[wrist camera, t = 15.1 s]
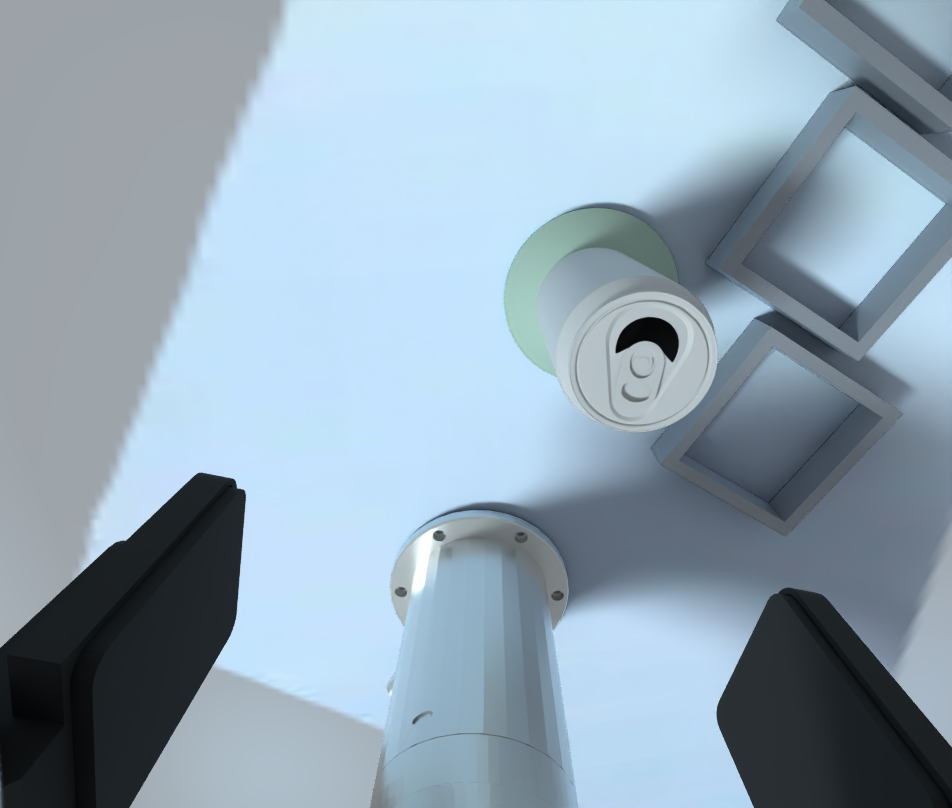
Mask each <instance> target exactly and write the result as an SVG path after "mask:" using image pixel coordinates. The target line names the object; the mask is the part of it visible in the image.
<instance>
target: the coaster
mask: <svg viewBox="0 0 952 808" xmlns="http://www.w3.org/2000/svg"><path fill="white" fill-rule="evenodd" d="M597 247H598V248H608V249H612V250H616V251H618V252H621V253H623V254H625V255H626V256H628V257H630V258H632V259H634V260H636V261H638V262H639V263H641V264H643V265H645V266H647V267H649V268H650V269H652V270H654V271H656V272H658V273H660V274H661V275H663V276H665V277H667V278H669V279H671V280H672V281H674V282H676V283H678V284H679V278H678V273H677V268H676V265H675V262H674V259H673V256H672V254H671V252H670V250H669V248H668V246H667V245H666V244H665V242H664V241H663V239H662V238H661V237H660V236H659V235H658V234H657V233H656V232H655V230H654V229H652V228H651V227H650V226H649V225H647V224H646V223H645V222H643V221H641V220H640V219H638V218H636V217H634V216H632V215H629V214H627V213H624V212H621V211H617V210H612V209H605V208H585V209H580V210H575V211H571V212H568V213H565V214H562V215H560V216H558V217H556V218H554V219H552V220H550V221H549V222H547V223H546V224H544V225H543V226H541V227H540V228H539V229H538V230H537V231H536V232H534V233H533V234H532V235H531V236H530V237H529V238H528V240H527V241H526V242H525V243H524V244H523V246H522V247H521V248H520V250H519V251H518V253H517V255H516V257H515V258H514V260H513V262H512V265H511V267H510V270H509V273H508V276H507V280H506V285H505V294H504V304H505V313H506V319H507V323H508V326H509V330H510V332H511V334H512V337H513V339H514V341H515V342H516V344H517V345H518V347H519V349H520V350H521V351H522V352H523V354H524V355H525V356H526V357H527V358H528V359H529V360H530V361H531V362H532V363H533V364H535V365H536V366H537V367H539V368H540V369H542V370H543V371H545V372H547V373H549V374H551V375H553V376H556V377H557V374H556V371H555V369H554V366H553V363H552V360H551V357H550V354H549V351H548V348H547V346H546V343H545V340H544V337H543V334H542V331H541V328H540V325H539V322H538V318H537V297H538V293H539V290H540V287H541V284H542V282H543V280H544V278H545V277H546V275H547V274H548V273H549V271H550V270H551V269H552V268H553V267H554V266H555V265H556V264H557V263H558V262H559V261H560V260H562V259H563V258H564V257H566V256H568V255H570V254H572V253H574V252H576V251H579V250H582V249H586V248H597Z"/></svg>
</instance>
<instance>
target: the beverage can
mask: <svg viewBox="0 0 952 808" xmlns="http://www.w3.org/2000/svg"><path fill="white" fill-rule="evenodd" d="M537 318H538V322H539V325H540V328H541V331H542V334H543V337H544V340H545V343H546V346H547V348H548V351H549V354H550V357H551V360H552V363H553V366H554V369H555V371H556V374H557V377H558V380H559V383H560V385H561V388H562V390H563V392H564V394H565V395H566V397H567V398H568V400H569V401H570V402H571V403H572V404H573V406H574V407H575V408H576V409H578V410H579V411H580V412H581V413H582V414H584V415H585V416H587V417H588V418H590V419H592V420H594V421H596V422H598V423H601V424H602V425H604V426H607V427H609V428H612V429H615V430H619V431H623V432H636V433H637V432H648V431H653V430H657V429H661V428H663V427H666V426H668V425H671V424H673V423H675V422H677V421H678V420H680V419H681V418H683V417H684V416H686V415H687V414H688V413H690V412H691V411H692V410H693V409H694V408H695V407H696V406H697V405H698V404H699V403H700V401H701V400H702V399H703V398H704V396H705V395H706V393H707V391H708V390H709V388H710V386H711V384H712V382H713V379H714V376H715V373H716V369H717V362H718V347H717V341H716V337H715V332H714V327H713V324H712V321H711V318H710V316H709V314H708V312H707V310H706V309H705V307H704V305H703V304H702V303H701V302H700V300H699V299H698V298H696V297H695V296H694V295H693V294H692V293H691V292H690V291H689V290H687V289H686V288H685V287H683V286H682V285H680V284H678V283H676V282H674V281H672V280H671V279H669V278H667V277H665V276H663V275H661V274H660V273H658V272H656V271H654V270H652V269H650V268H649V267H647V266H645V265H643V264H641V263H639V262H638V261H636V260H634V259H632V258H630V257H628V256H626V255H625V254H623V253H621V252H618V251H616V250H612V249H608V248H598V247H597V248H586V249H582V250H579V251H576V252H574V253H572V254H570V255H568V256H566V257H564V258H563V259H562V260H560V261H559V262H558V263H557V264H556V265H555V266H554V267H553V268H552V269H551V270H550V271H549V273H548V274H547V275H546V277H545V278H544V280H543V282H542V284H541V287H540V290H539V293H538V297H537Z"/></svg>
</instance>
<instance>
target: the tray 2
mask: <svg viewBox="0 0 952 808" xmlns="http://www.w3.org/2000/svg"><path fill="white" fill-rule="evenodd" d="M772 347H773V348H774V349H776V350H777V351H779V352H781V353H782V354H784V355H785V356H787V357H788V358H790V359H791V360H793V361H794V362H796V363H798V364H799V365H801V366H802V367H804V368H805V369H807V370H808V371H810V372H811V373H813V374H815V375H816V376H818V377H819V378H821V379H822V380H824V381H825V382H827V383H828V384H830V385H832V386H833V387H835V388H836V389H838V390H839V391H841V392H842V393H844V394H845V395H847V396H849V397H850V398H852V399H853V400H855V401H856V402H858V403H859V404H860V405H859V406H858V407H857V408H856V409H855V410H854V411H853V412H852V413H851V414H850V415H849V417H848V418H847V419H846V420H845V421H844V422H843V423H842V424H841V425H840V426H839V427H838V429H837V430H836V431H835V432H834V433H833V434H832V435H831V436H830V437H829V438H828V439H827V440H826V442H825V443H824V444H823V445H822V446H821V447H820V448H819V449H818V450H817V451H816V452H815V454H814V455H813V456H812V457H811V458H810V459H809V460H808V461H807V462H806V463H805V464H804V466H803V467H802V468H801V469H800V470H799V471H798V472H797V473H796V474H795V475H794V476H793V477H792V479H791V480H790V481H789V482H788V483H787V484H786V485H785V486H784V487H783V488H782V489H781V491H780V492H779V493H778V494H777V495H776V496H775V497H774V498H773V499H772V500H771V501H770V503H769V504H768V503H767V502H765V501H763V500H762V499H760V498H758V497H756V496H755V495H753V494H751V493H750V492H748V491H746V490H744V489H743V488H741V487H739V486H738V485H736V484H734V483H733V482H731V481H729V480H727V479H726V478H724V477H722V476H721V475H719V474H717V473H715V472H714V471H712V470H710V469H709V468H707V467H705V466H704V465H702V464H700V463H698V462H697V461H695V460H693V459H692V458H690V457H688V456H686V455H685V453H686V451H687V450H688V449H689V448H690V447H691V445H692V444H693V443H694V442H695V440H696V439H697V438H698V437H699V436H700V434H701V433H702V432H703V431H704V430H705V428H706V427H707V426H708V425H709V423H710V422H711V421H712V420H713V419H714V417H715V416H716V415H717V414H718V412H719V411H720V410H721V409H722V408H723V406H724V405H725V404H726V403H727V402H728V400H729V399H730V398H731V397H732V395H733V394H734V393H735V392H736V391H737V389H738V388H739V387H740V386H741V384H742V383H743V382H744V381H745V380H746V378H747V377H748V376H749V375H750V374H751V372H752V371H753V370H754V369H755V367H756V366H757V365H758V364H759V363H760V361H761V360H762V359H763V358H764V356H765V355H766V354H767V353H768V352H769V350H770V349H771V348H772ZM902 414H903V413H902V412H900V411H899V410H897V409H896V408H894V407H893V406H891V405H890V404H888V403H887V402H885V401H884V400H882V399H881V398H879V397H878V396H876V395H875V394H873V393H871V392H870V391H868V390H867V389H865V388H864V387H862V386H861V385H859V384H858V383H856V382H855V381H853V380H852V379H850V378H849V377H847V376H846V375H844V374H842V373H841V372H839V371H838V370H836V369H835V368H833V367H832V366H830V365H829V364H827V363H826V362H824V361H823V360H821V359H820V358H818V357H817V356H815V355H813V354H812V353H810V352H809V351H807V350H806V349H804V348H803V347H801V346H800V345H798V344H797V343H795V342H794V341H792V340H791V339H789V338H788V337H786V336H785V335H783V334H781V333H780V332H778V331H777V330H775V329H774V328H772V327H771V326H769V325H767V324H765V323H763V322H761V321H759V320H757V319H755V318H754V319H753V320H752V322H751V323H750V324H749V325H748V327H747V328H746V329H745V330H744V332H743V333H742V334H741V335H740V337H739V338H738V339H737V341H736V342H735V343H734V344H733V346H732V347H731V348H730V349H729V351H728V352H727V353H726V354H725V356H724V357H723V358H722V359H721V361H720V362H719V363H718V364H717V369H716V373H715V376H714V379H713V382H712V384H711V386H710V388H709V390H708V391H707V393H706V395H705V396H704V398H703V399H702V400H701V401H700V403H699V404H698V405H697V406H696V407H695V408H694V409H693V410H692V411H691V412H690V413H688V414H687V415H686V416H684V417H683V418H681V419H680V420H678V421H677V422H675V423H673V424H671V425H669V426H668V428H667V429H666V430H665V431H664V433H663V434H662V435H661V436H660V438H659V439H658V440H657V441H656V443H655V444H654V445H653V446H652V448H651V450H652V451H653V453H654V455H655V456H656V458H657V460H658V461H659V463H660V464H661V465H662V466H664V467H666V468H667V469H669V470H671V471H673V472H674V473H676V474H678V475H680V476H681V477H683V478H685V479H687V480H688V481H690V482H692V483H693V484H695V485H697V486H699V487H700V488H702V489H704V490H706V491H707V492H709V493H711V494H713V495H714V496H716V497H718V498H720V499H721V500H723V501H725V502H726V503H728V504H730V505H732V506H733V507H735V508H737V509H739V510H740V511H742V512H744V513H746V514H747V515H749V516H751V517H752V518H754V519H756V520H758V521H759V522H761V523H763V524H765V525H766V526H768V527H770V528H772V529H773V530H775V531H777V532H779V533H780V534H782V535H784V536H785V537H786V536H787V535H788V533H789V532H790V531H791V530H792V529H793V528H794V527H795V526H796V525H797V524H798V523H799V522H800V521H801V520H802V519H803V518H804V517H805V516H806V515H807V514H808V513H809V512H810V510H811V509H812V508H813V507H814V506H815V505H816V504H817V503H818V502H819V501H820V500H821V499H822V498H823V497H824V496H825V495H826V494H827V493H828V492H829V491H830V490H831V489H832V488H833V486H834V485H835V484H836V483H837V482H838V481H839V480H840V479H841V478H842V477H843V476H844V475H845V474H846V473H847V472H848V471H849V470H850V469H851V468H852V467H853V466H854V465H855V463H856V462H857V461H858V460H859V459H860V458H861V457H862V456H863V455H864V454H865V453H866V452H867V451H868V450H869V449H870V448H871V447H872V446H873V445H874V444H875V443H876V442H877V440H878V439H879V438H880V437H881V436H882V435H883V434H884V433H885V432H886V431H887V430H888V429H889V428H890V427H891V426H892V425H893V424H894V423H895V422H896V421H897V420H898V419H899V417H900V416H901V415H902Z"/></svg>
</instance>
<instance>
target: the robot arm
mask: <svg viewBox="0 0 952 808" xmlns="http://www.w3.org/2000/svg"><path fill="white" fill-rule="evenodd" d="M245 501H246V494H245V491H244V490H242V489H237V485H236V481H235V480H234V479H231V478H226V477H221V476H216V475H211V474H206V473H198V474H196V475H195V476H194V477H193V478H192V479H191V480H190V481H188V482H187V483H186V484H185V485H184V486H183V487H182V488H181V489H180V490H179V491H178V492H177V493H176V494H175V495H174V496H173V497H172V498H171V499H170V500H168V501H167V502H166V503H165V504H164V505H163V506H162V507H161V508H160V509H159V510H158V511H157V512H156V513H155V514H154V515H153V516H152V517H151V518H150V519H148V520H147V521H146V522H145V523H144V524H143V525H142V526H141V527H140V528H139V529H138V530H137V531H136V532H135V533H134V534H133V535H132V536H131V537H130V538H129V539H127V540H126V541H119V542H116V543H115V544H113V545H112V546H110V547H109V548H108V549H107V550H106V551H105V552H103V553H102V554H101V555H100V556H99V557H98V558H97V559H96V560H95V561H94V562H93V563H92V564H90V565H89V566H88V567H87V568H86V569H85V570H84V571H83V572H82V573H81V574H80V575H79V576H78V577H76V578H75V579H74V580H73V581H72V582H71V583H70V584H69V585H68V586H67V587H66V588H65V589H63V590H62V591H61V592H60V593H59V594H58V595H57V596H56V597H55V598H54V599H53V600H52V601H51V602H49V604H47V605H46V606H45V607H44V608H43V609H42V610H41V611H40V612H39V613H38V614H36V615H35V616H34V617H33V618H32V619H31V620H30V621H29V622H28V623H27V624H26V625H25V626H24V627H22V628H21V629H20V630H19V631H18V632H17V633H16V634H15V635H14V636H13V637H12V638H11V639H9V640H8V641H7V642H6V643H5V644H4V645H3V646H2V647H1V648H0V808H129V807H130V805H131V804H132V802H133V800H134V799H135V797H136V795H137V794H138V792H139V790H140V789H141V787H142V785H143V783H144V782H145V780H146V778H147V777H148V775H149V773H150V772H151V770H152V768H153V766H154V765H155V763H156V761H157V760H158V758H159V756H160V754H161V753H162V751H163V749H164V748H165V746H166V744H167V743H168V741H169V739H170V737H171V736H172V734H173V732H174V731H175V729H176V727H177V726H178V724H179V722H180V720H181V719H182V717H183V715H184V714H185V712H186V710H187V708H188V707H189V705H190V703H191V702H192V700H193V698H194V697H195V695H196V693H197V691H198V690H199V688H200V686H201V685H202V683H203V681H204V680H205V678H206V676H207V674H208V673H209V671H210V669H211V668H212V666H213V664H214V663H215V661H216V659H217V657H218V656H219V654H220V652H221V651H222V649H223V647H224V645H225V644H226V642H227V640H228V639H229V637H230V635H231V632H232V630H233V627H234V624H235V620H236V614H237V601H238V589H239V576H240V564H241V551H242V539H243V526H244V514H245ZM439 530H441V531H439ZM390 593H391V601H392V604H393V607H394V610H395V613H396V615H397V617H398V618H399V620H400V621H401V623H402V625H403V626H404V632H403V637H402V642H401V647H400V653H399V658H398V663H397V668H396V672H395V673H394V675H393V676H392V677H391V679H390V680H389V681H388V684H387V691H388V694H389V695H390V696H391V700H390V705H389V711H388V716H387V721H386V726H385V732H384V737H383V742H382V748H381V753H380V758H379V763H378V769H377V774H376V779H375V785H374V788H373V792H372V798H371V803H370V808H578V804H577V796H576V789H575V782H574V775H573V768H572V761H571V754H570V747H569V740H568V733H567V726H566V719H565V712H564V705H563V698H562V691H561V684H560V677H559V670H558V664H557V657H556V650H555V643H554V636H553V630H554V629H555V627H556V626H557V624H558V623H559V622H560V620H561V619H562V616H563V614H564V611H565V609H566V606H567V601H568V594H569V587H568V577H567V573H566V569H565V564H564V562H563V560H562V557H561V555H560V553H559V551H558V549H557V548H556V547H555V546H554V544H553V543H552V542H551V540H550V539H549V538H548V537H547V536H546V535H545V534H543V533H542V532H541V531H540V530H539V529H538V528H536V527H535V526H533V525H531V524H530V523H528V522H526V521H524V520H523V519H520V518H517V517H515V516H512V515H509V514H506V513H501V512H496V511H490V510H468V511H461V512H454V513H451V514H448V515H445V516H442V517H439V518H437V519H435V520H433V521H431V522H429V523H427V524H425V525H424V526H422V527H421V528H420V529H419V530H417V531H416V532H415V533H414V534H412V535H411V536H410V538H409V539H408V540H407V541H406V543H405V544H404V545H403V546H402V548H401V550H400V552H399V554H398V556H397V558H396V560H395V563H394V567H393V570H392V574H391V582H390ZM717 722H718V725H719V728H720V731H721V733H722V735H723V737H724V740H725V742H726V744H727V747H728V749H729V751H730V754H731V756H732V758H733V760H734V763H735V765H736V767H737V770H738V772H739V774H740V777H741V779H742V781H743V783H744V786H745V788H746V790H747V793H748V795H749V797H750V799H751V802H752V804H753V806H754V808H952V747H951V746H950V745H949V744H948V742H947V741H946V740H945V739H944V738H943V736H942V735H941V734H940V733H939V732H938V731H937V729H936V728H935V727H934V726H933V724H932V723H931V722H930V721H929V720H928V719H927V717H926V716H925V715H924V714H923V713H922V711H921V710H920V709H919V708H918V707H917V705H916V704H915V703H914V702H913V701H912V700H911V698H910V697H909V696H908V695H907V694H906V692H905V691H904V690H903V689H902V688H901V686H900V685H899V684H898V683H897V682H896V681H895V679H894V678H893V677H892V676H891V675H890V673H889V672H888V671H887V670H886V669H885V667H884V666H883V665H882V664H881V663H880V662H879V660H878V659H877V658H876V657H875V656H874V654H873V653H872V652H871V651H870V650H869V648H868V647H867V646H866V645H865V644H864V643H863V641H862V640H861V639H860V638H859V637H858V635H857V634H856V633H855V632H854V631H853V629H852V628H851V627H850V626H849V625H848V624H847V622H846V621H845V620H844V619H843V618H842V616H841V615H840V614H839V613H838V612H837V610H836V609H835V608H834V607H833V606H832V605H831V603H830V602H829V601H828V600H827V599H826V598H825V597H824V596H823V595H821V594H818V593H814V592H809V591H803V590H798V589H793V588H784V589H783V590H781V591H780V592H779V593H778V594H774V595H772V596H771V597H770V599H769V600H768V602H767V604H766V606H765V608H764V610H763V612H762V614H761V616H760V618H759V620H758V622H757V625H756V627H755V629H754V631H753V633H752V635H751V637H750V639H749V641H748V643H747V645H746V647H745V649H744V651H743V653H742V655H741V657H740V659H739V661H738V664H737V666H736V668H735V670H734V672H733V674H732V676H731V678H730V680H729V682H728V684H727V686H726V688H725V690H724V692H723V694H722V696H721V698H720V701H719V703H718V706H717Z"/></svg>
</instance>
